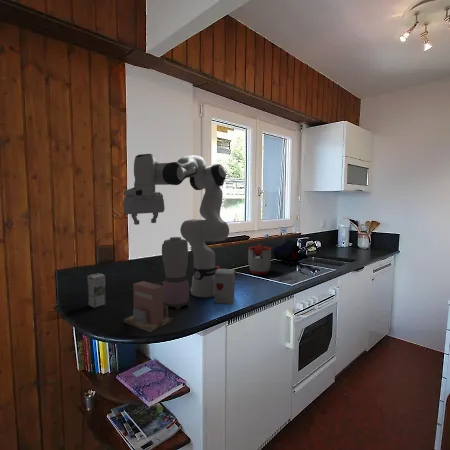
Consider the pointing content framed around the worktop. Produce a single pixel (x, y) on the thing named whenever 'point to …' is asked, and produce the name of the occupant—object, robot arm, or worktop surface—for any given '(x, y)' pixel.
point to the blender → (175, 272)
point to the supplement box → (224, 286)
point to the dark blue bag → (289, 253)
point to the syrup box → (96, 290)
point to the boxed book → (149, 300)
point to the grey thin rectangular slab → (140, 316)
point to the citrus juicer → (259, 259)
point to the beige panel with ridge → (150, 326)
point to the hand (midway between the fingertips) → (145, 223)
